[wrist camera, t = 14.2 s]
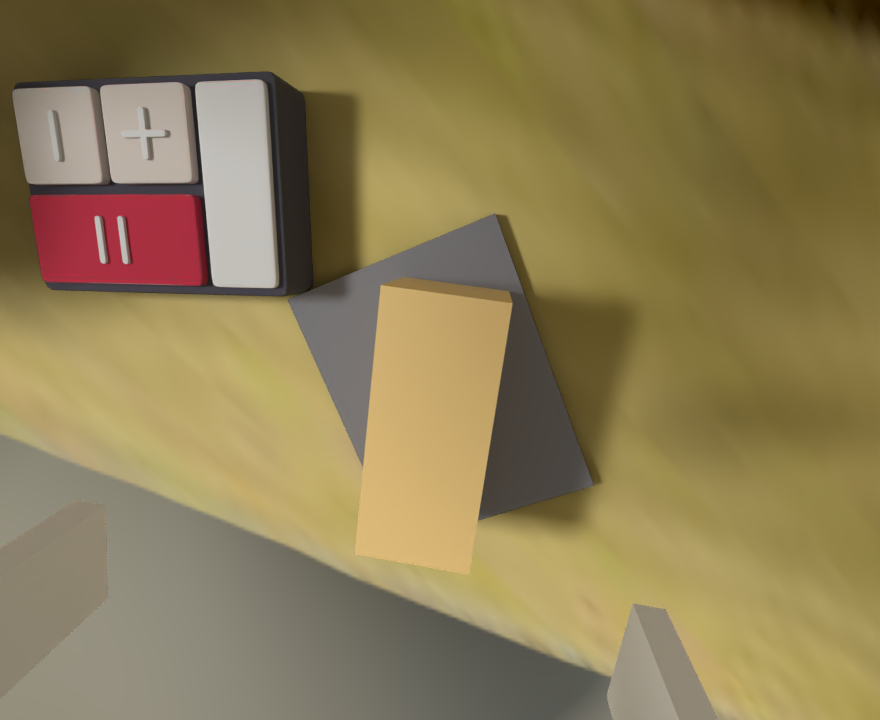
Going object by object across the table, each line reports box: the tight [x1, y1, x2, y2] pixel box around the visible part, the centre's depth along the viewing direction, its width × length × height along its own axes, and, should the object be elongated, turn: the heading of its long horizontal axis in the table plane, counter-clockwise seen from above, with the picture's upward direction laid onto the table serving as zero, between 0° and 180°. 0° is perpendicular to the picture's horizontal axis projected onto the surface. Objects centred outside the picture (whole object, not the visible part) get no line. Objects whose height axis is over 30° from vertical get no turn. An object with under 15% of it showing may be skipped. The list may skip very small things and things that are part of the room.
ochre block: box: [355, 277, 513, 575], centre depth 27 cm, size 6×6×14 cm
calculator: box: [12, 72, 313, 296], centre depth 28 cm, size 11×4×15 cm
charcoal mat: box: [288, 214, 594, 520], centre depth 30 cm, size 17×13×1 cm
